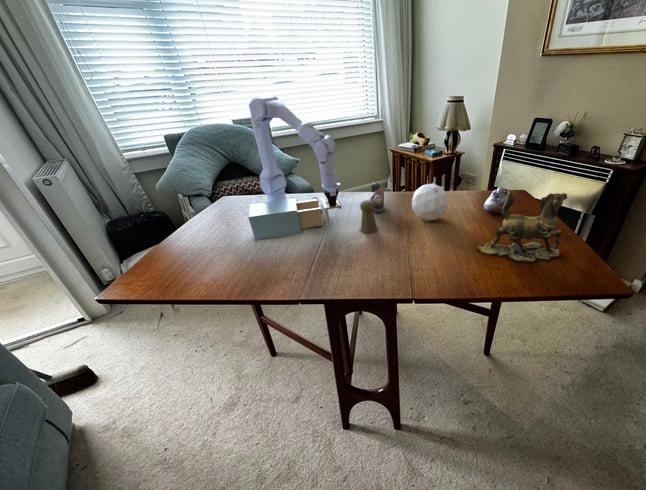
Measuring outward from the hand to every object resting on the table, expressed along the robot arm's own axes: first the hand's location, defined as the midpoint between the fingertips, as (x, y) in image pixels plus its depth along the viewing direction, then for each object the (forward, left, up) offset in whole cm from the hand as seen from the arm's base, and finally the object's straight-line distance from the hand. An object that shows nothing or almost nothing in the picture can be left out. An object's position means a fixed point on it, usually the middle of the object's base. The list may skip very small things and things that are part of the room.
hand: (332, 207), depth 119 cm
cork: (+13, +11, -6) cm, 18 cm away
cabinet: (0, -22, -6) cm, 23 cm away
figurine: (+46, +52, -6) cm, 69 cm away
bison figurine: (-5, +19, -6) cm, 21 cm away
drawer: (0, -8, -5) cm, 9 cm away
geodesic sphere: (+12, +36, -6) cm, 38 cm away
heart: (+17, +63, -6) cm, 65 cm away
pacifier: (-12, -6, -6) cm, 15 cm away
